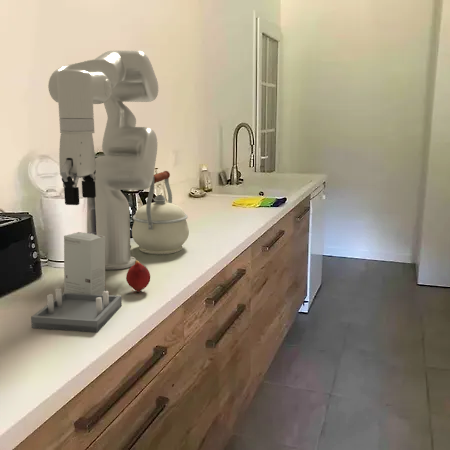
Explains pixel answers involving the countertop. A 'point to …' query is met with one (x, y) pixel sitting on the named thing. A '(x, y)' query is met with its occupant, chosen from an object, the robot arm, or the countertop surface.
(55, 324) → the pin tray
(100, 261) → the skincare box
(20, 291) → the countertop surface
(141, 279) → the onion
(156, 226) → the kettle
